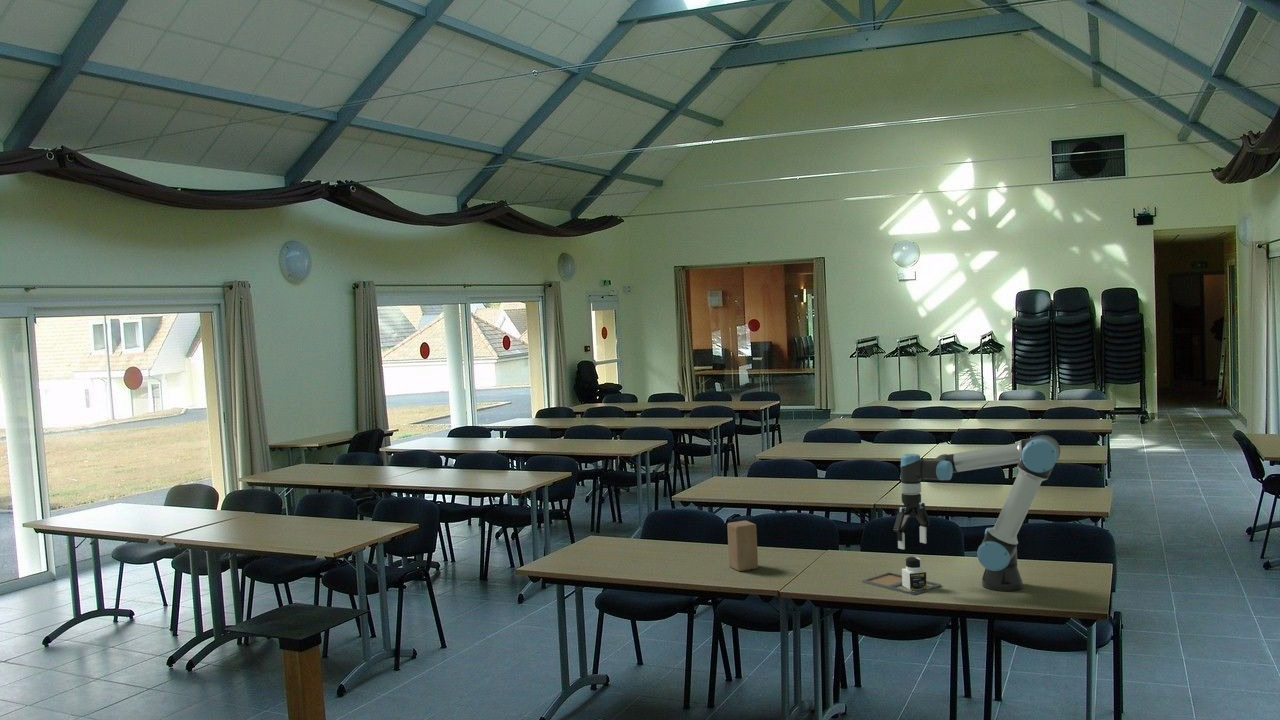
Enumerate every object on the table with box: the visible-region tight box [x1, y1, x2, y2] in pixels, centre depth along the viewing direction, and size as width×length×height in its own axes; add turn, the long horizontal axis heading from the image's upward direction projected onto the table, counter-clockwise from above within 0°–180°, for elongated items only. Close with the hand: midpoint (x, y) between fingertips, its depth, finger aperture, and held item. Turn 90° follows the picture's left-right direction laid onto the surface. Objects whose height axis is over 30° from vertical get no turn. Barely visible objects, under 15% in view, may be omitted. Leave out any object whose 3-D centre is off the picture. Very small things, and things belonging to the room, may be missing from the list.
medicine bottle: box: [901, 556, 928, 591], centre depth 389 cm, size 7×7×12 cm
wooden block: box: [727, 520, 759, 572], centre depth 430 cm, size 10×10×20 cm
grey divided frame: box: [861, 571, 942, 596], centre depth 395 cm, size 26×17×1 cm, turn 37°
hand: (912, 545), depth 389 cm, fingers open, 13 cm apart
